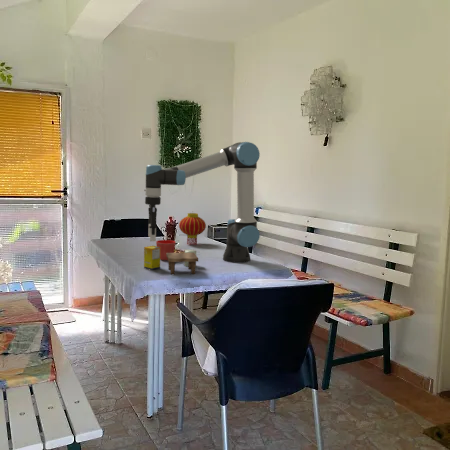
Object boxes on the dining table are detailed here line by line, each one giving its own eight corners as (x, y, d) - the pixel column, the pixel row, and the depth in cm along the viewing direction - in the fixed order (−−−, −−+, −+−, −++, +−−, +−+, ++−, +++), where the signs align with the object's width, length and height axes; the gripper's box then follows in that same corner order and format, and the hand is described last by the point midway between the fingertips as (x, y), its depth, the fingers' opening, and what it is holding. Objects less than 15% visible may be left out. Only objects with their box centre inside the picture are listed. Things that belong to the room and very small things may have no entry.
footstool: (193, 268, 247) (193, 252, 246) (197, 274, 234) (198, 258, 233) (166, 268, 244) (166, 252, 243) (168, 275, 231) (169, 258, 230)
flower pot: (179, 258, 269) (179, 241, 267) (166, 261, 260) (166, 244, 258) (165, 256, 274) (165, 239, 273) (151, 258, 265) (152, 241, 264)
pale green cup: (195, 264, 256) (195, 249, 254) (196, 267, 250) (197, 251, 249) (183, 264, 254) (184, 249, 253) (185, 267, 248) (185, 252, 247)
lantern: (210, 244, 317) (211, 198, 313) (196, 248, 302) (197, 200, 297) (187, 241, 325) (189, 196, 320) (173, 244, 309) (174, 198, 305)
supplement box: (152, 266, 248) (152, 245, 246) (160, 268, 244) (160, 247, 243) (143, 268, 243) (143, 246, 242) (151, 270, 240) (151, 248, 238)
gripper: (144, 194, 250) (143, 234, 253) (146, 198, 226) (145, 243, 229) (158, 194, 252) (157, 234, 255) (162, 198, 228) (161, 243, 230)
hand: (151, 238), depth 242 cm, fingers open, 13 cm apart
